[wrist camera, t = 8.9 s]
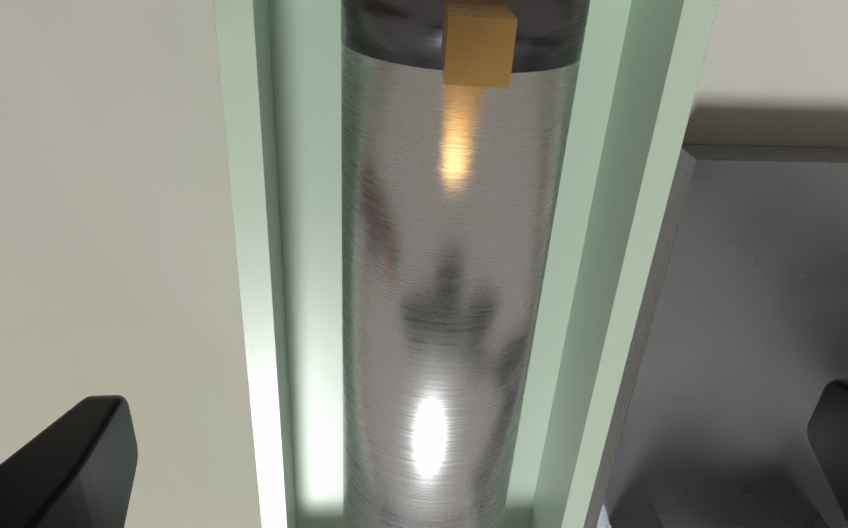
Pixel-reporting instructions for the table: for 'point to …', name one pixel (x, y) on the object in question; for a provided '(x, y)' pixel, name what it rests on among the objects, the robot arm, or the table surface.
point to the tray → (565, 268)
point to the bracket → (733, 347)
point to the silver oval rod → (445, 244)
